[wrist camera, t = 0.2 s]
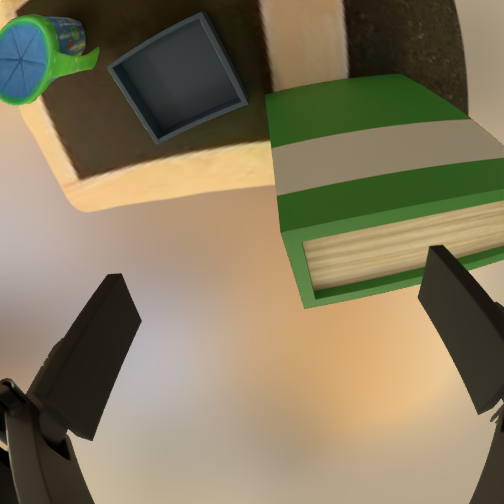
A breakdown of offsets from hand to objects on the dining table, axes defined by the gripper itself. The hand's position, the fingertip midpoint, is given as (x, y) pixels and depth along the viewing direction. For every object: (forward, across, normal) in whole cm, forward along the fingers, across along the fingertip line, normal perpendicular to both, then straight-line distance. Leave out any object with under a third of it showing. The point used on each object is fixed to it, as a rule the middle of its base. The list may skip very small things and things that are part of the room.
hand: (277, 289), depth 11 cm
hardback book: (+27, +10, +6) cm, 29 cm away
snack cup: (+22, -23, +22) cm, 39 cm away
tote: (+25, -9, +12) cm, 29 cm away
